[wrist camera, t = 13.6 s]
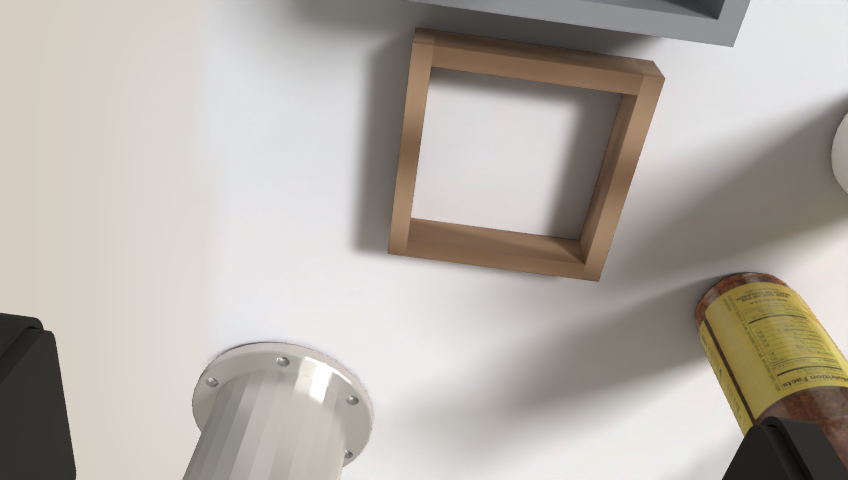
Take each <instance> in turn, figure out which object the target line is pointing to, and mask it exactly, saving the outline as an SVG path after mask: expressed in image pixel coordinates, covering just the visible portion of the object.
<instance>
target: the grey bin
mask: <svg viewBox="0 0 848 480" xmlns="http://www.w3.org/2000/svg"><path fill="white" fill-rule="evenodd" d="M406 1H413V2H420V3H427V4H434V5H441V6H448V7H455V8H462V9H469V10H476V11H483V12H490V13H497V14H504V15H511V16H518V17H525V18H532V19H539V20H546V21H553V22H560V23H567V24H574V25H581V26H588V27H595V28H602V29H609V30H616V31H623V32H630V33H637V34H644V35H651V36H658V37H665V38H672V39H679V40H686V41H693V42H700V43H707V44H714V45H721V46H728V47H733V46H734V43H735V40H736V38H737V35H738V32H739V29H740V27H741V24H742V21H743V19H744V16H745V13H746V11H747V8H748V5H749V3H750V0H406Z"/></svg>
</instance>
